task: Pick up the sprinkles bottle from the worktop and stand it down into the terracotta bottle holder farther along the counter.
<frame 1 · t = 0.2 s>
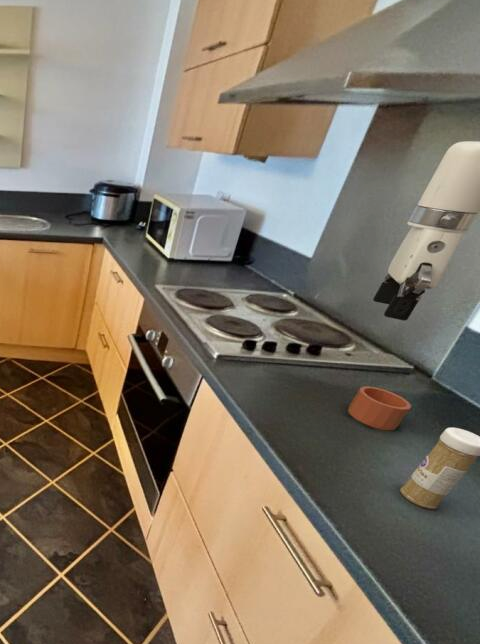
hand: (388, 310, 80), 24 cm above the counter, tool pointing down, fingers open, 9 cm apart
sprinkles bottle: (417, 499, 68), on the counter
holder: (371, 418, 88), on the counter
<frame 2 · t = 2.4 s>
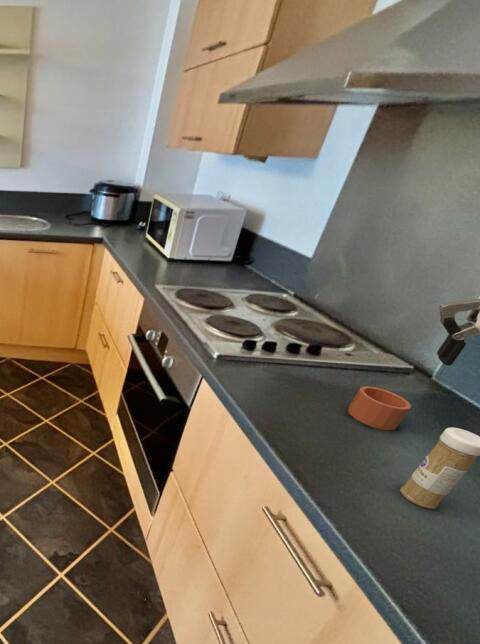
nothing on the counter moved.
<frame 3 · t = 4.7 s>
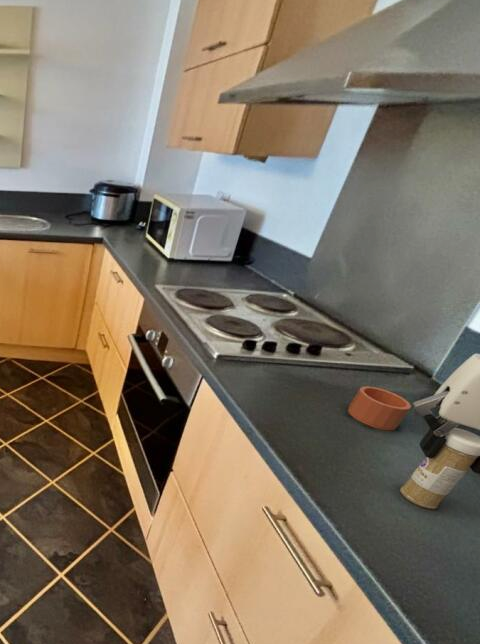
hand: (449, 459, 64), 9 cm above the counter, tool pointing down, fingers closed on sprinkles bottle, 4 cm apart
sprinkles bottle: (417, 499, 68), on the counter, touching gripper
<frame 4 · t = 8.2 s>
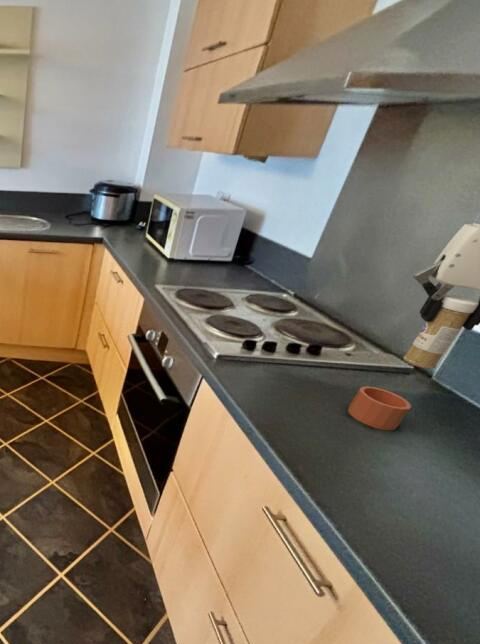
hand: (445, 322, 75), 24 cm above the counter, tool pointing down, fingers closed on sprinkles bottle, 4 cm apart
sprinkles bottle: (417, 364, 79), point 15 cm above the counter, touching gripper
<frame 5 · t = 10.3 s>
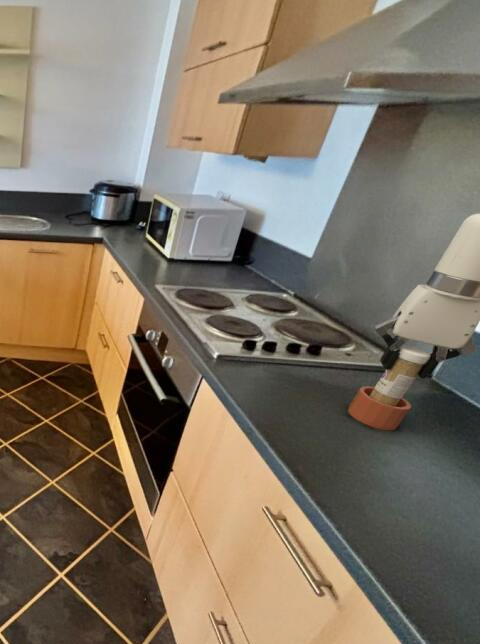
hand: (402, 370, 83), 12 cm above the counter, tool pointing down, fingers closed on sprinkles bottle, 4 cm apart
sprinkles bottle: (379, 406, 87), point 3 cm above the counter, touching gripper
when the fingers open (9 cm above the counter, at t = 11.6 s): sprinkles bottle stays where it is, resting on holder.
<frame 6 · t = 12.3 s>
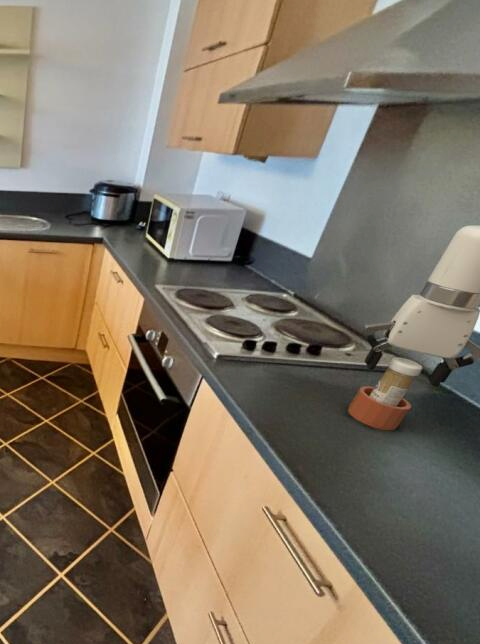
hand: (400, 375, 83), 11 cm above the counter, tool pointing down, fingers open, 9 cm apart
sprinkles bottle: (372, 416, 88), resting on holder
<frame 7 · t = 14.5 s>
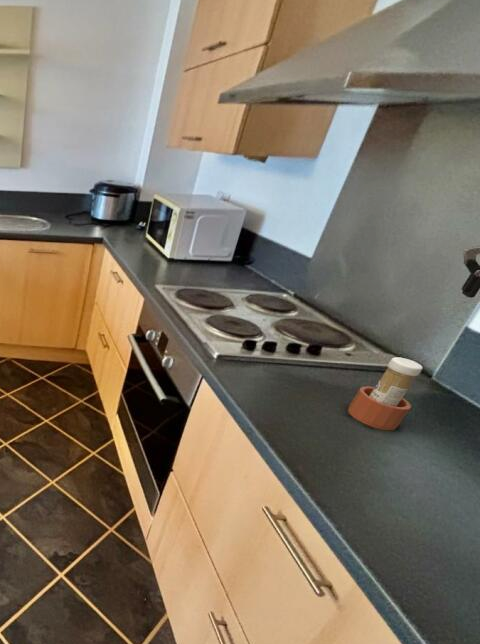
nothing on the counter moved.
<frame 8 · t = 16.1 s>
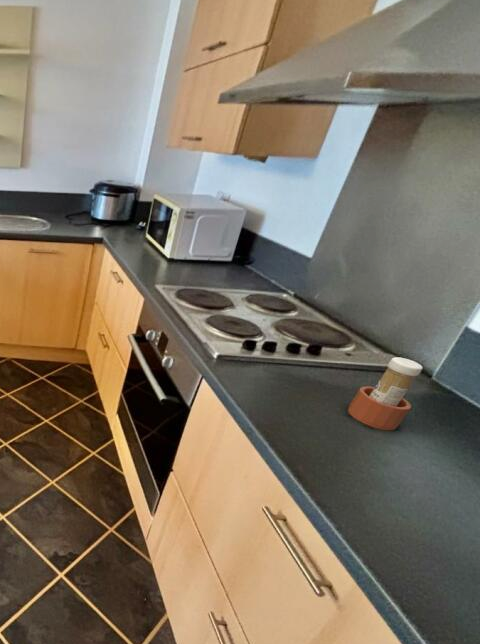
nothing on the counter moved.
at the end: sprinkles bottle 0.1 cm off-centre in the holder, point 0.4 cm above the holder's base; sprinkles bottle tilted 0°; the gripper is holding nothing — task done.
